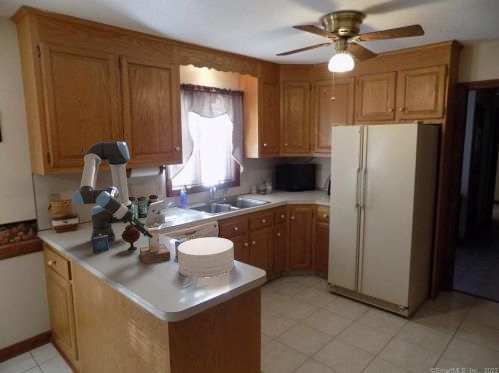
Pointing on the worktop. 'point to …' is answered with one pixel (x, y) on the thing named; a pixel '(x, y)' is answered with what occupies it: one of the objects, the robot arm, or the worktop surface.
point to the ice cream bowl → (131, 236)
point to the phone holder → (155, 215)
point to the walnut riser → (154, 254)
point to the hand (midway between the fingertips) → (154, 237)
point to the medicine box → (179, 244)
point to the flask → (100, 244)
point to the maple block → (152, 245)
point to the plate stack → (205, 257)
